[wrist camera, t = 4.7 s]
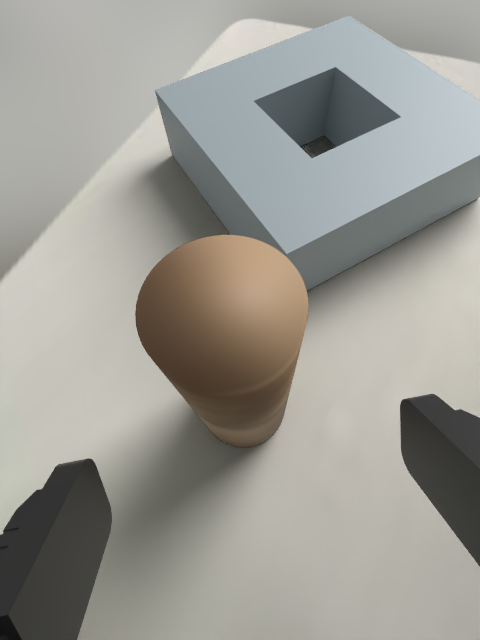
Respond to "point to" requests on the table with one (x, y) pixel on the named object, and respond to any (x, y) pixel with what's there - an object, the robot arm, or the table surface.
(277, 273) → the peg
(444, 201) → the socket block
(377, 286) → the table surface
